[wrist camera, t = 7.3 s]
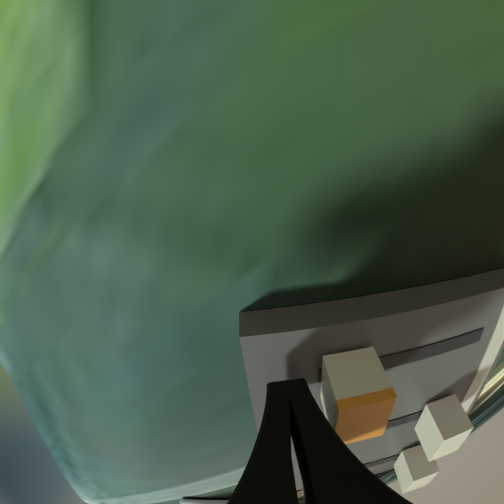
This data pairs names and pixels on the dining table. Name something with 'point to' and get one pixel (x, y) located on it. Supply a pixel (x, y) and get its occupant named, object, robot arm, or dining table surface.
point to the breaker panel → (391, 362)
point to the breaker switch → (356, 394)
